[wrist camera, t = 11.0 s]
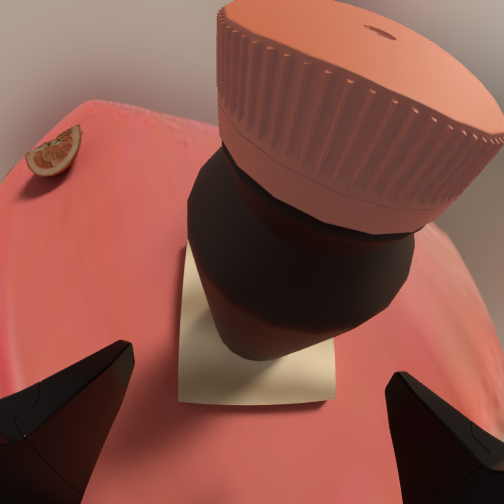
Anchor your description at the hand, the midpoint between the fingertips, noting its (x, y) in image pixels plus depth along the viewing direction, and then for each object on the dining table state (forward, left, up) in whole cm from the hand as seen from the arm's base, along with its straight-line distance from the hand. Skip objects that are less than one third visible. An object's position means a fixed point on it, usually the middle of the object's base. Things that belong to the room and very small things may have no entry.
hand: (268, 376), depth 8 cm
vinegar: (+4, -1, -12) cm, 13 cm away
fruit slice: (+23, +24, -14) cm, 36 cm away
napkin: (+5, -1, -14) cm, 14 cm away
